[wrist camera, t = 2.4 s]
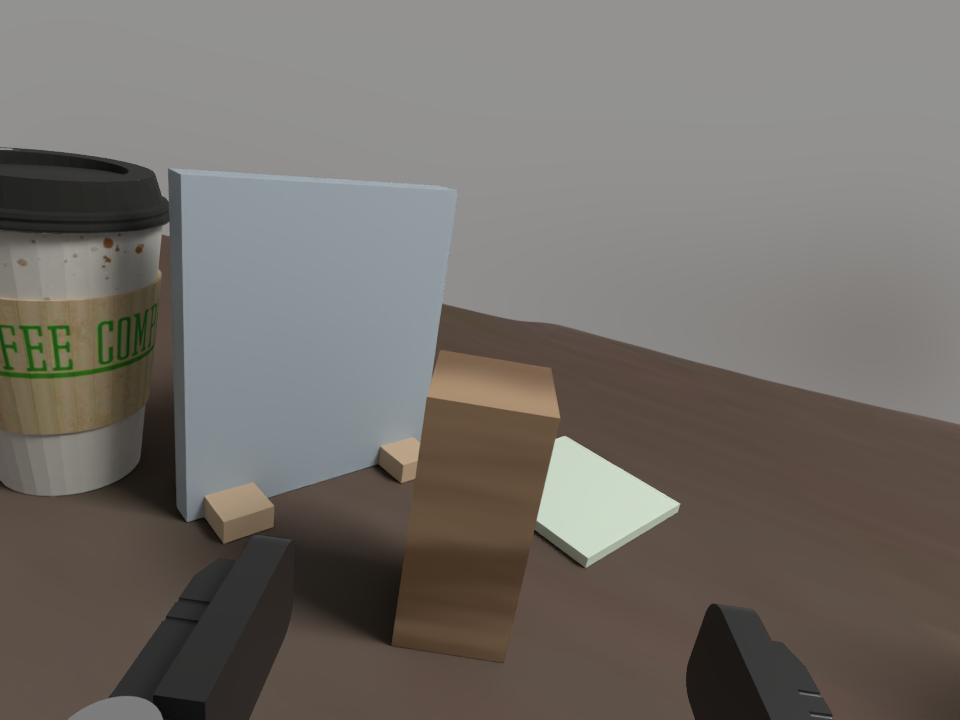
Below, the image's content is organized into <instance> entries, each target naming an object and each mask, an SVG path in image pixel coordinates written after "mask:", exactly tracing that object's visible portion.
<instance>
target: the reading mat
mask: <svg viewBox="0 0 960 720" xmlns="http://www.w3.org/2000/svg"><path fill="white" fill-rule="evenodd" d="M679 506H680V503H678V502H676V501H674V500H673V499H671V498H669V497H668V496H666V495H664V494H663V493H661V492H659V491H658V490H656V489H654V488H652V487H651V486H649V485H647V484H646V483H644V482H642V481H641V480H639V479H637V478H635V477H634V476H632V475H630V474H629V473H627V472H625V471H624V470H622V469H620V468H619V467H617V466H615V465H613V464H612V463H610V462H608V461H607V460H605V459H603V458H602V457H600V456H598V455H596V454H595V453H593V452H591V451H590V450H588V449H586V448H585V447H583V446H581V445H580V444H578V443H576V442H574V441H573V440H571V439H569V438H568V437H566V436H563V437H560V438H558V439H555V443H554V447H553V452H552V456H551V460H550V465H549V469H548V473H547V477H546V482H545V486H544V490H543V495H542V499H541V503H540V508H539V512H538V516H537V520H536V525H535V529H534V530H536V531H537V532H538V533H540V534H541V535H542V536H544V537H545V538H546V539H548V540H549V541H550V542H552V543H553V544H554V545H556V546H557V547H558V548H560V549H561V550H562V551H564V552H565V553H566V554H568V555H569V556H570V557H572V558H573V559H574V560H575V561H577V562H578V563H579V564H581V565H582V566H583V567H585V568H586V567H588V566H590V565H591V564H593V563H595V562H596V561H598V560H599V559H601V558H603V557H604V556H606V555H608V554H609V553H611V552H613V551H614V550H616V549H618V548H619V547H621V546H623V545H624V544H626V543H628V542H629V541H631V540H633V539H634V538H636V537H637V536H639V535H641V534H642V533H644V532H646V531H647V530H649V529H651V528H652V527H654V526H656V525H657V524H659V523H661V522H662V521H664V520H666V519H667V518H669V517H671V516H672V515H674V514H675V513H677V512H678V509H679Z"/></svg>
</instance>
